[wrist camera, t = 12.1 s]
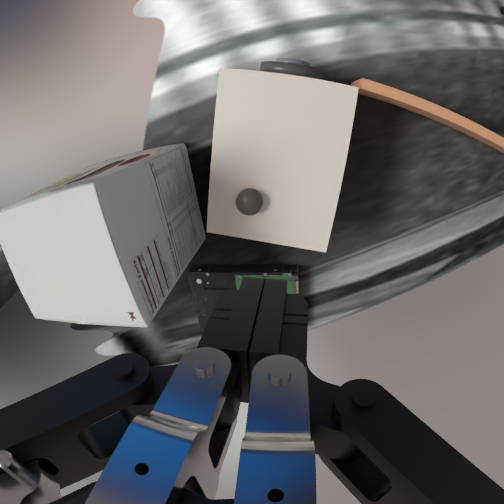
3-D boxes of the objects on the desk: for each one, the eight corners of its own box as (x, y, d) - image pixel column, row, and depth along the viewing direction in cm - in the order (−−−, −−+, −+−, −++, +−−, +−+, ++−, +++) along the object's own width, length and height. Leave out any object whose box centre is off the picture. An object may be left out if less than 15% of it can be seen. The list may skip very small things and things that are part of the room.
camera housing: (239, 60, 29) (219, 48, 22) (348, 75, 28) (363, 67, 21) (225, 205, 38) (204, 235, 30) (322, 222, 37) (326, 256, 29)
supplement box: (186, 139, 35) (96, 178, 19) (208, 239, 41) (151, 330, 25) (80, 167, 39) (-14, 215, 23) (106, 249, 44) (33, 320, 29)
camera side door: (349, 91, 29) (361, 88, 23) (352, 74, 28) (365, 68, 22) (503, 153, 28) (534, 166, 21) (507, 139, 27) (539, 150, 20)
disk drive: (205, 319, 48) (300, 321, 45) (200, 330, 46) (299, 334, 43) (192, 262, 43) (298, 260, 40) (185, 272, 41) (297, 272, 38)
